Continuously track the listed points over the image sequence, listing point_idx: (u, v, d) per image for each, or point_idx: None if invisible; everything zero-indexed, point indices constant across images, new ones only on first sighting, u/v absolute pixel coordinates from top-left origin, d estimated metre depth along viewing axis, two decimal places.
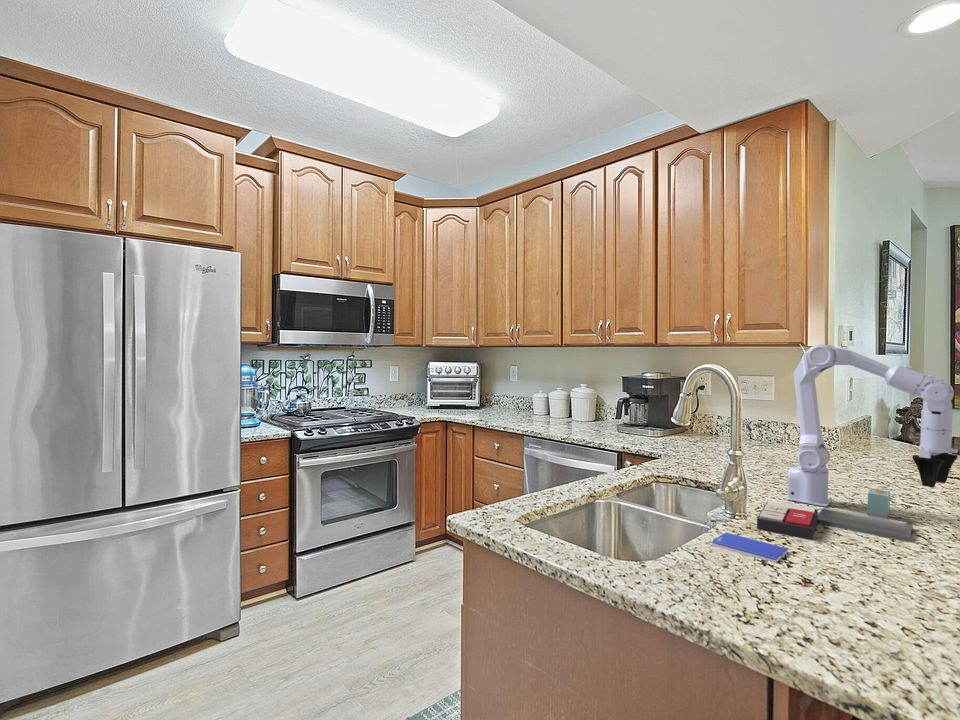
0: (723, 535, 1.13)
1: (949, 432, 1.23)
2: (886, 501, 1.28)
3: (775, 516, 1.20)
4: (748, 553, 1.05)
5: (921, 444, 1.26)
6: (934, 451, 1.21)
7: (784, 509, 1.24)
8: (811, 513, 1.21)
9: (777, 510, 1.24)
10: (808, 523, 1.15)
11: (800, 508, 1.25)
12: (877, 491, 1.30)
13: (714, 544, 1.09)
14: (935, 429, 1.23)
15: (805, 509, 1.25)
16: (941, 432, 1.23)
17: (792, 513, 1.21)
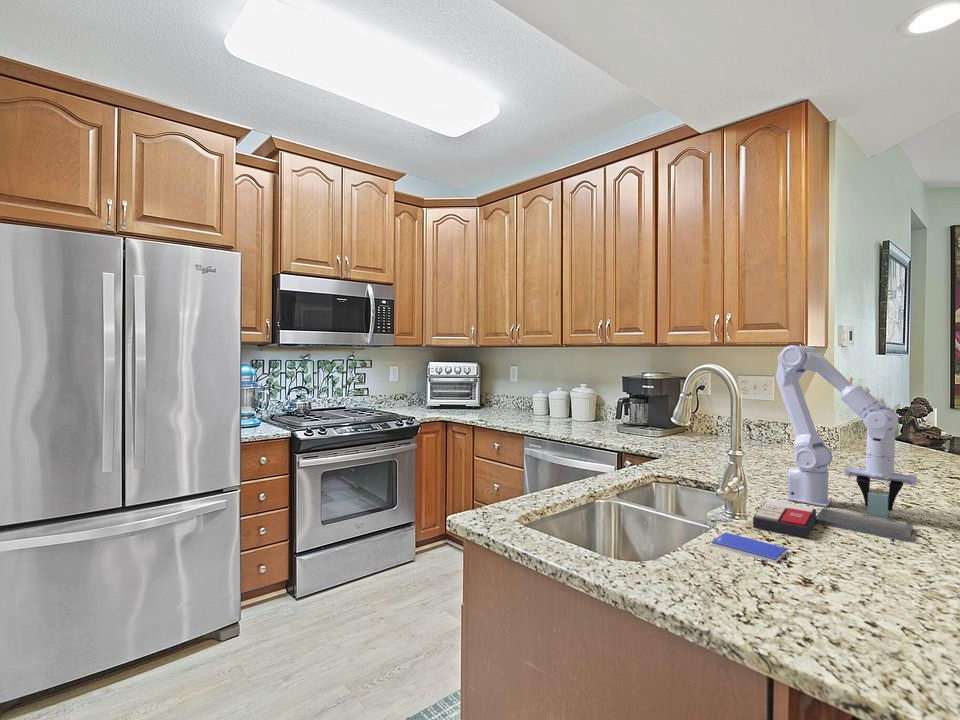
0: (723, 535, 1.13)
1: (874, 457, 1.29)
2: (886, 501, 1.28)
3: (771, 515, 1.20)
4: (748, 553, 1.05)
5: None
6: (853, 471, 1.33)
7: (781, 508, 1.25)
8: (808, 513, 1.22)
9: (774, 510, 1.24)
10: (804, 522, 1.16)
11: (798, 508, 1.26)
12: (877, 491, 1.30)
13: (714, 544, 1.09)
14: (876, 455, 1.29)
15: (803, 509, 1.25)
16: (868, 456, 1.31)
17: (789, 512, 1.22)
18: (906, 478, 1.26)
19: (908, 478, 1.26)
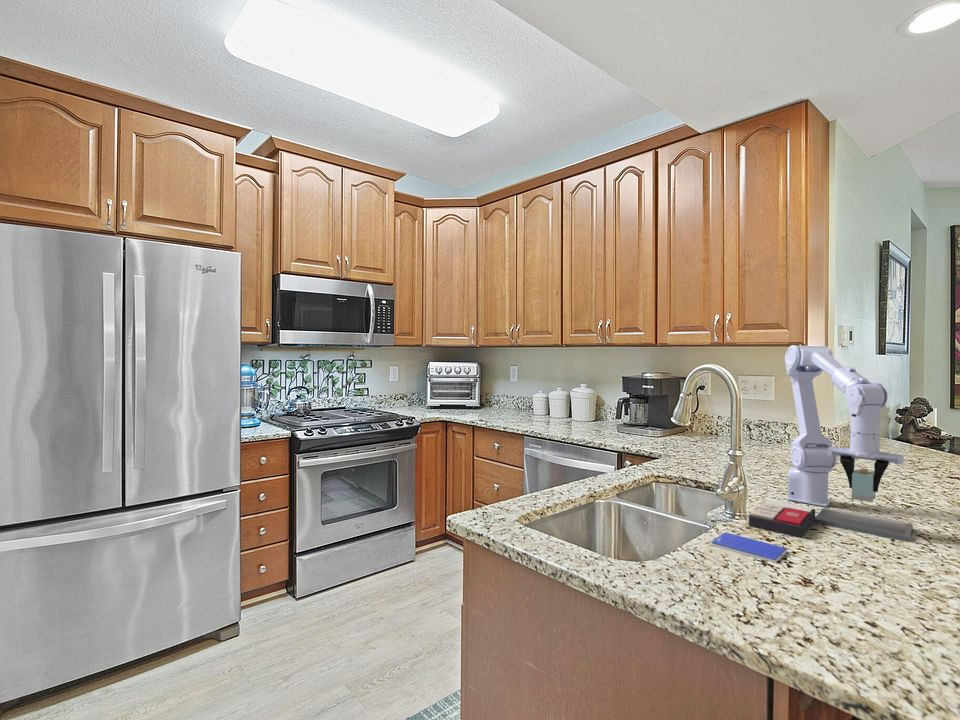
0: (722, 535, 1.13)
1: (859, 435, 1.22)
2: (871, 481, 1.20)
3: (767, 514, 1.21)
4: (748, 553, 1.05)
5: None
6: (837, 450, 1.26)
7: (779, 508, 1.25)
8: (806, 512, 1.22)
9: (772, 509, 1.25)
10: (798, 522, 1.16)
11: (797, 507, 1.26)
12: (862, 471, 1.23)
13: (714, 544, 1.09)
14: (852, 432, 1.23)
15: (801, 508, 1.25)
16: (852, 434, 1.24)
17: (786, 512, 1.22)
18: (892, 457, 1.19)
19: (894, 457, 1.19)
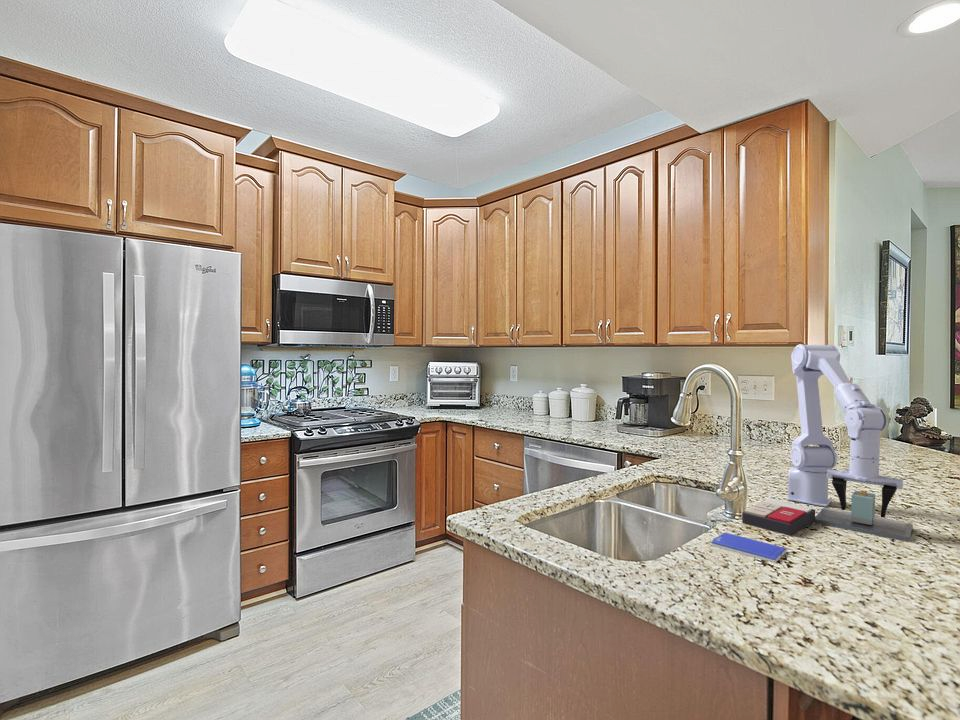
0: (722, 535, 1.13)
1: (858, 459, 1.22)
2: (871, 504, 1.20)
3: (760, 512, 1.23)
4: (747, 553, 1.05)
5: None
6: (836, 473, 1.26)
7: (776, 507, 1.26)
8: (802, 512, 1.22)
9: (768, 507, 1.26)
10: (789, 520, 1.17)
11: (795, 507, 1.26)
12: (861, 493, 1.23)
13: (713, 544, 1.09)
14: (852, 455, 1.23)
15: (800, 508, 1.25)
16: (851, 458, 1.24)
17: (781, 510, 1.23)
18: (891, 481, 1.19)
19: (893, 481, 1.19)
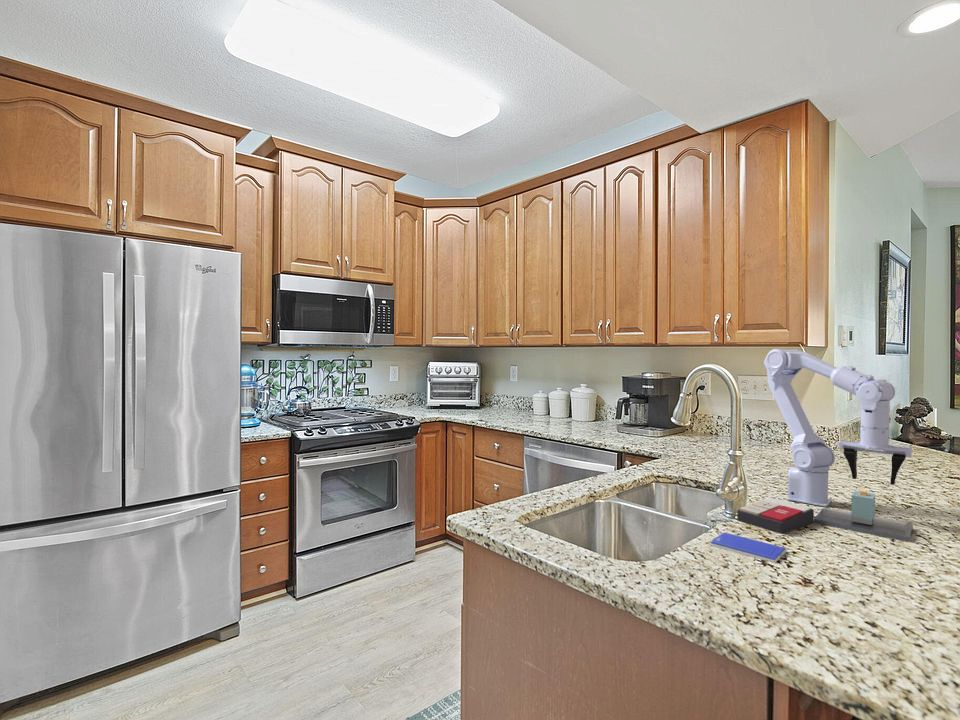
0: (721, 535, 1.13)
1: (869, 429, 1.28)
2: (871, 504, 1.20)
3: (755, 510, 1.24)
4: (747, 553, 1.05)
5: None
6: (847, 444, 1.32)
7: (773, 505, 1.27)
8: (798, 511, 1.23)
9: (765, 506, 1.27)
10: (782, 518, 1.18)
11: (793, 506, 1.26)
12: (861, 493, 1.23)
13: (713, 544, 1.09)
14: (867, 427, 1.28)
15: (798, 507, 1.25)
16: (862, 428, 1.29)
17: (777, 509, 1.24)
18: (901, 450, 1.25)
19: (903, 450, 1.24)
